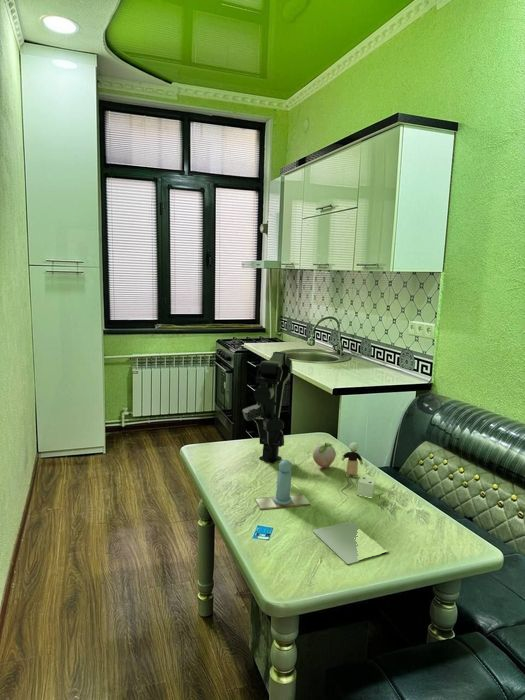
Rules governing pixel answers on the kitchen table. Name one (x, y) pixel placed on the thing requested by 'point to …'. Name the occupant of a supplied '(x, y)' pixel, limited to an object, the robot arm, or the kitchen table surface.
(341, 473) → the kitchen table surface
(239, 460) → the kitchen table surface
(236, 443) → the kitchen table surface
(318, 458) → the decorative fruit
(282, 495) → the pawn
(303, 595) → the kitchen table surface
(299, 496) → the board
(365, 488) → the die
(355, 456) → the grandmother figurine
